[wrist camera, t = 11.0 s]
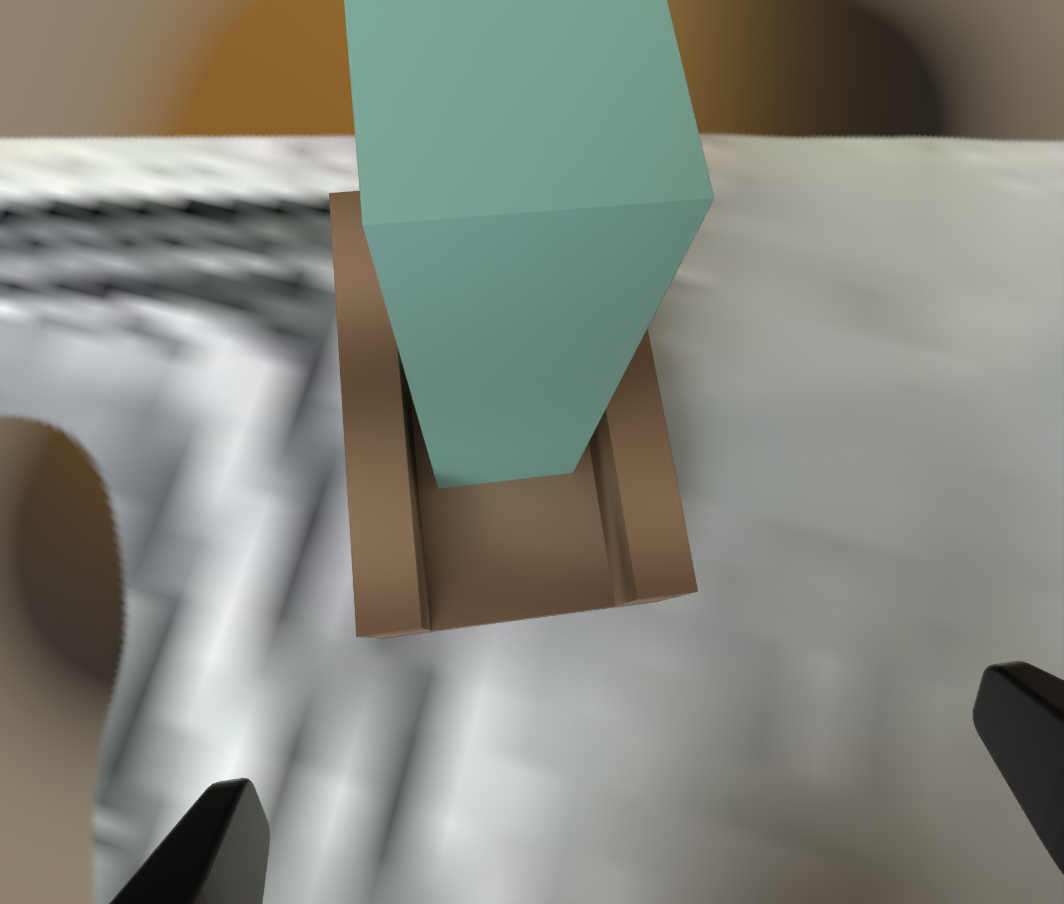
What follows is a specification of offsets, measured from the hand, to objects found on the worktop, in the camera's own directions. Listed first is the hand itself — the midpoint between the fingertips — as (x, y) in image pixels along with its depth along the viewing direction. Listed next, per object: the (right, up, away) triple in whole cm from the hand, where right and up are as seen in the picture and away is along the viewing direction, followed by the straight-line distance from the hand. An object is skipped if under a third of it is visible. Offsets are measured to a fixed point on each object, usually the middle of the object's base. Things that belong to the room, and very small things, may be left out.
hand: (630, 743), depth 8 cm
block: (-2, +5, +12) cm, 13 cm away
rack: (-2, +4, +13) cm, 14 cm away
